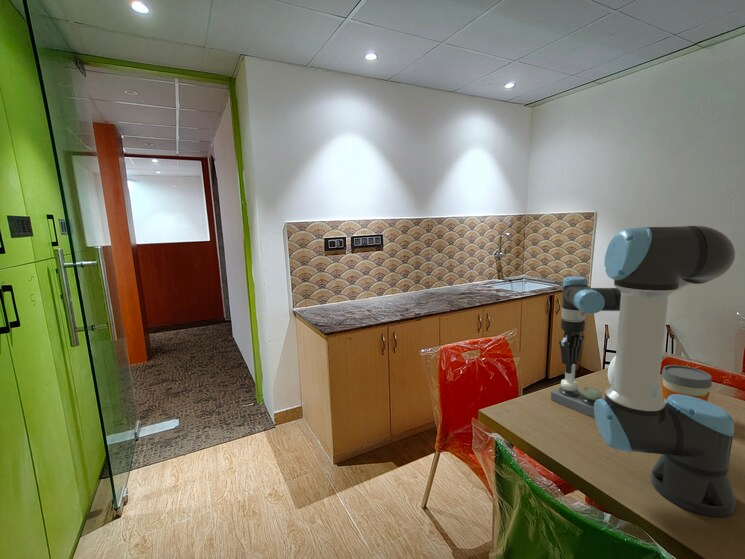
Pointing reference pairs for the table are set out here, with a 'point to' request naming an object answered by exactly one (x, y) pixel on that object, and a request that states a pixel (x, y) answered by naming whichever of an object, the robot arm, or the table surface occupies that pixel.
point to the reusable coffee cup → (685, 382)
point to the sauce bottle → (611, 371)
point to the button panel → (574, 400)
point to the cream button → (569, 385)
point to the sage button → (592, 393)
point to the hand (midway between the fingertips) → (569, 380)
